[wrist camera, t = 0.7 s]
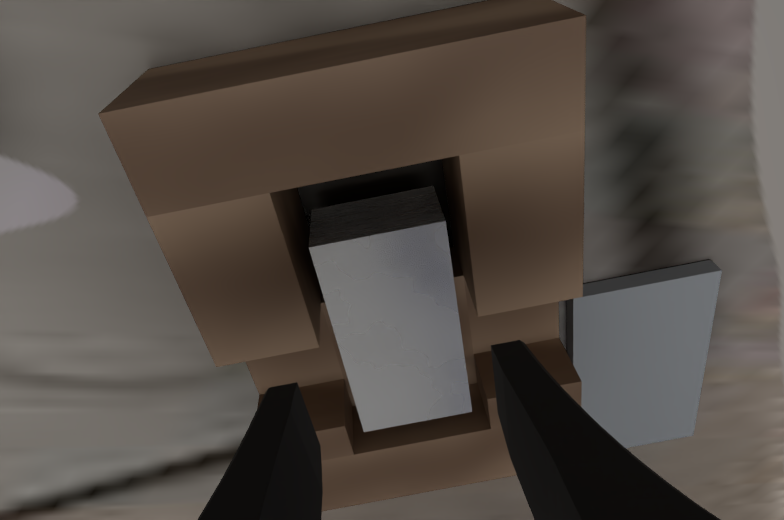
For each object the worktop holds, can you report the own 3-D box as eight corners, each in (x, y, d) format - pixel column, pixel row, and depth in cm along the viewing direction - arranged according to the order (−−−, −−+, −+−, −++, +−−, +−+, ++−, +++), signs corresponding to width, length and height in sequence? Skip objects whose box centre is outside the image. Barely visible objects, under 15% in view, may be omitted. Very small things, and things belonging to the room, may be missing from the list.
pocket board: (545, 384, 26) (580, 463, 23) (293, 432, 27) (286, 517, 23) (531, -9, 17) (586, 15, 14) (148, 69, 17) (98, 113, 14)
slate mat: (684, 423, 29) (693, 435, 28) (567, 444, 29) (573, 457, 28) (710, 259, 23) (721, 270, 23) (566, 287, 23) (573, 298, 23)
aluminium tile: (459, 365, 22) (472, 411, 20) (361, 384, 23) (363, 432, 21) (433, 185, 18) (445, 220, 16) (311, 209, 18) (308, 247, 16)
